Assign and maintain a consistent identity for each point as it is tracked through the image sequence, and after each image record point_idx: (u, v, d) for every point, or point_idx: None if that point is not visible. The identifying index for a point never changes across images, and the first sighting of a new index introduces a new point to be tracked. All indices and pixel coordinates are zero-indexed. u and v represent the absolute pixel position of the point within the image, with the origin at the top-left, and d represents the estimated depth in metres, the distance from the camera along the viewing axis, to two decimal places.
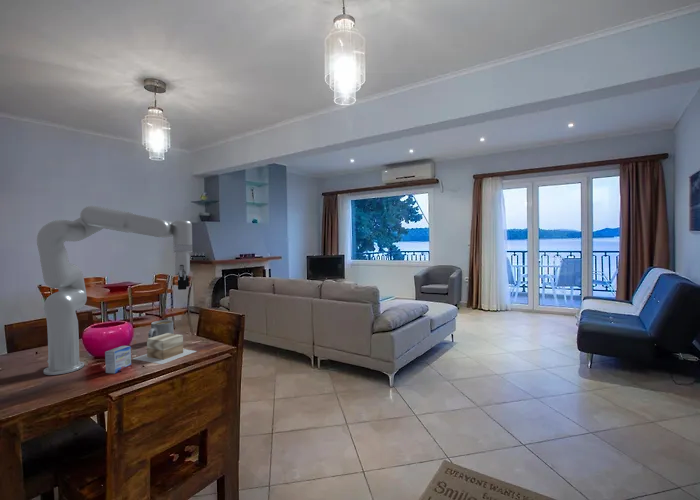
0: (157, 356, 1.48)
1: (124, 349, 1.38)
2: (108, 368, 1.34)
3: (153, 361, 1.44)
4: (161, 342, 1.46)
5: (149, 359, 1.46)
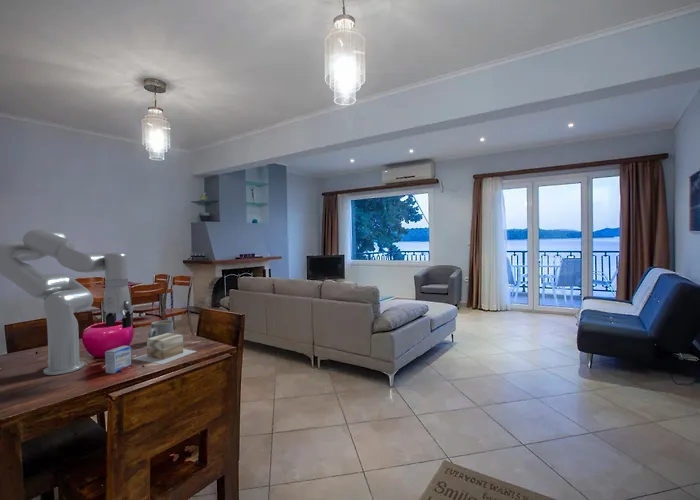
0: (157, 356, 1.48)
1: (124, 349, 1.38)
2: (108, 368, 1.34)
3: (153, 361, 1.44)
4: (161, 342, 1.46)
5: (149, 359, 1.46)
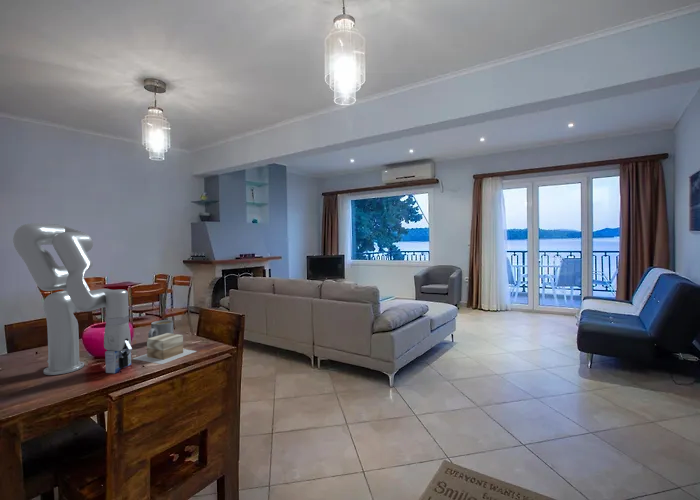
0: (157, 356, 1.48)
1: None
2: (108, 367, 1.34)
3: (153, 361, 1.44)
4: (161, 342, 1.46)
5: (149, 359, 1.46)
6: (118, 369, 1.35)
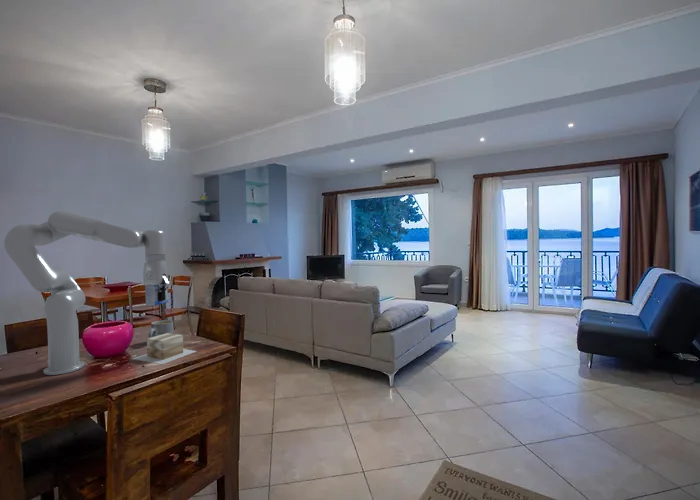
0: (157, 356, 1.48)
1: None
2: (147, 300, 1.46)
3: (153, 361, 1.44)
4: (161, 342, 1.46)
5: (149, 359, 1.46)
6: (157, 302, 1.47)
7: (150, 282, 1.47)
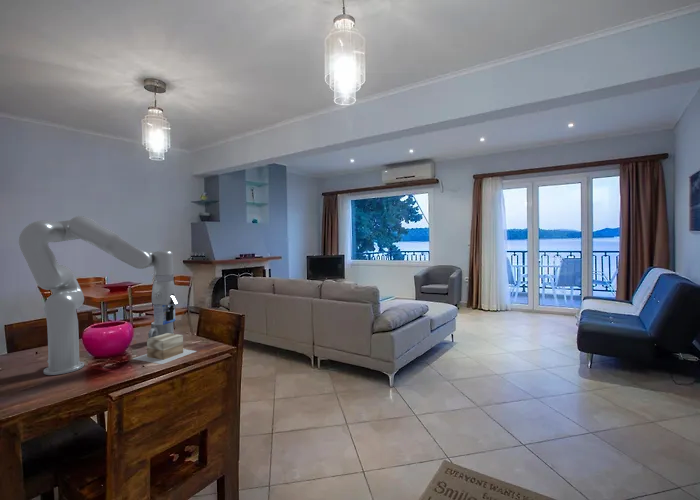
0: (157, 356, 1.48)
1: None
2: (156, 320, 1.49)
3: (153, 361, 1.44)
4: (161, 342, 1.46)
5: (149, 359, 1.46)
6: (165, 321, 1.50)
7: (159, 302, 1.50)
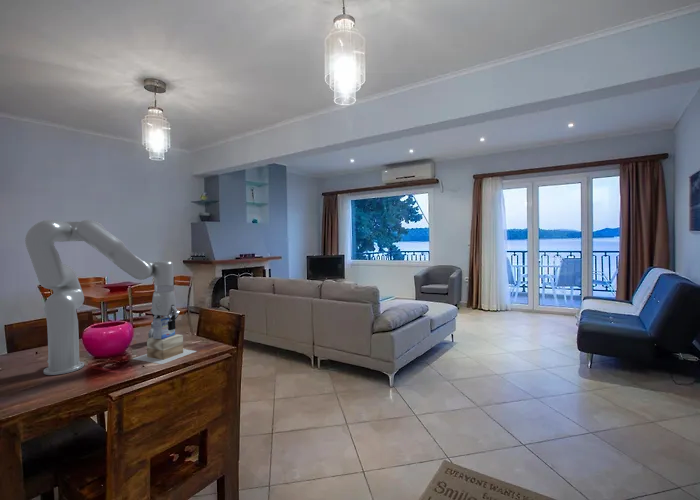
0: (157, 356, 1.48)
1: None
2: (155, 334, 1.49)
3: (153, 361, 1.44)
4: (161, 342, 1.46)
5: (149, 359, 1.46)
6: (164, 336, 1.50)
7: (159, 312, 1.50)
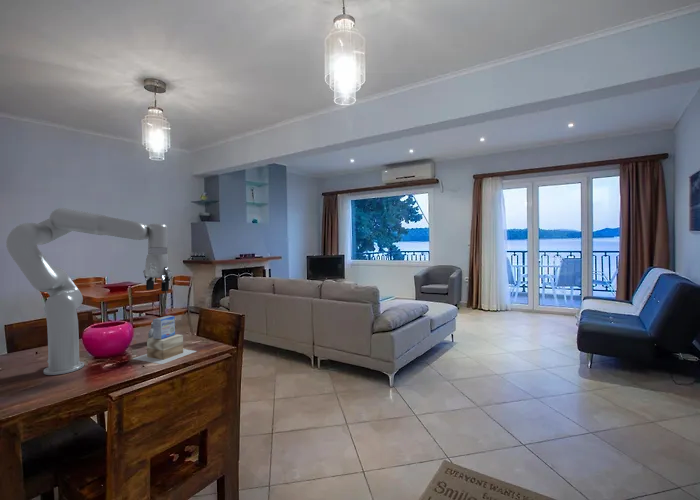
0: (157, 356, 1.48)
1: (169, 318, 1.52)
2: (155, 334, 1.49)
3: (153, 361, 1.44)
4: (161, 342, 1.46)
5: (149, 359, 1.46)
6: (164, 336, 1.50)
7: (151, 274, 1.50)
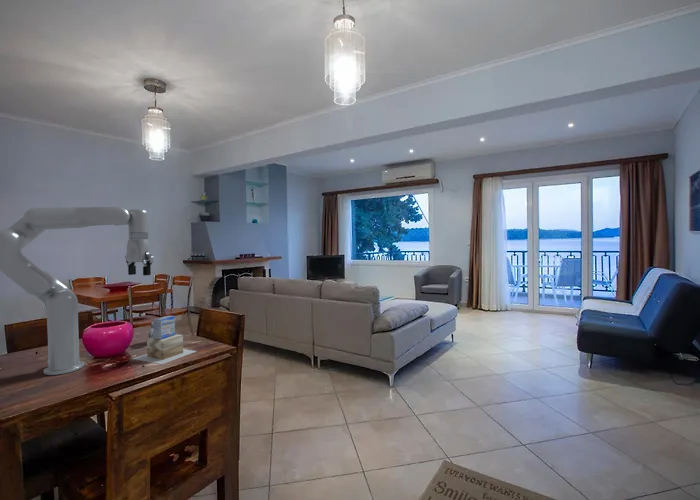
0: (157, 356, 1.48)
1: (169, 318, 1.52)
2: (155, 334, 1.49)
3: (153, 361, 1.44)
4: (161, 342, 1.46)
5: (149, 359, 1.46)
6: (164, 336, 1.50)
7: (133, 259, 1.52)
